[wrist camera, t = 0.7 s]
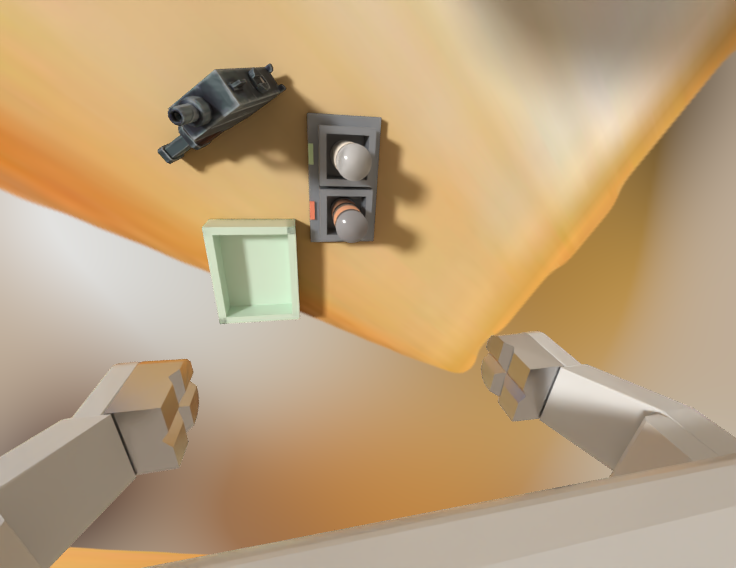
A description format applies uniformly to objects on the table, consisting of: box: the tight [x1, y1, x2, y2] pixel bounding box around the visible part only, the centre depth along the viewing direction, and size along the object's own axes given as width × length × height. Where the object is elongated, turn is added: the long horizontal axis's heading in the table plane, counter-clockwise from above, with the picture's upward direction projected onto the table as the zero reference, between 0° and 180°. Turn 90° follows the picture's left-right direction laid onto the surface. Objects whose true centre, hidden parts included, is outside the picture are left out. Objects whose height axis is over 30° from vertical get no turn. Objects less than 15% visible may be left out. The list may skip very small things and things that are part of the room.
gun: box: [158, 64, 286, 164], centre depth 30 cm, size 3×17×15 cm
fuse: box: [330, 139, 372, 181], centre depth 37 cm, size 4×4×8 cm
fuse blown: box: [330, 197, 368, 243], centre depth 40 cm, size 4×4×8 cm
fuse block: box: [307, 113, 381, 242], centre depth 41 cm, size 16×9×4 cm, turn 177°
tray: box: [202, 219, 300, 324], centre depth 44 cm, size 14×11×4 cm
